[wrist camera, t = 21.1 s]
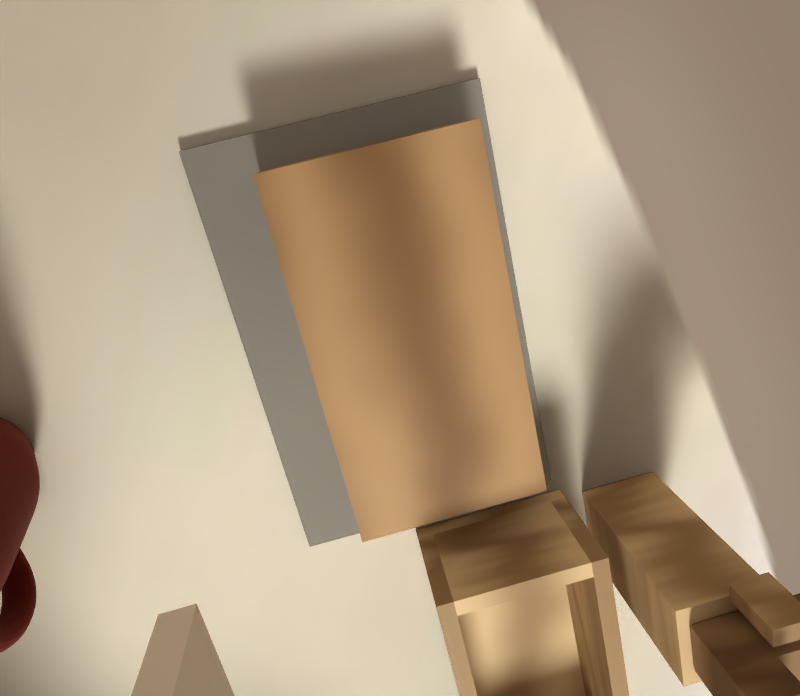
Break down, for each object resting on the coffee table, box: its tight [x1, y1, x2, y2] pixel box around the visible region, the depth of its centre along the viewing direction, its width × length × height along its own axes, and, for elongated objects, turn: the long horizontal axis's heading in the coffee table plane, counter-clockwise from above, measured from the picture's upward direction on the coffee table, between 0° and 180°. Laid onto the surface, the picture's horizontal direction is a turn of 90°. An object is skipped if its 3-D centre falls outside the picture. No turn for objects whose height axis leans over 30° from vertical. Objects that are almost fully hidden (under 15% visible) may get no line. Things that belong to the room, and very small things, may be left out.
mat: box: [179, 78, 551, 547], centre depth 30 cm, size 13×20×1 cm, turn 13°
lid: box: [253, 119, 547, 542], centre depth 29 cm, size 9×17×3 cm, turn 13°
